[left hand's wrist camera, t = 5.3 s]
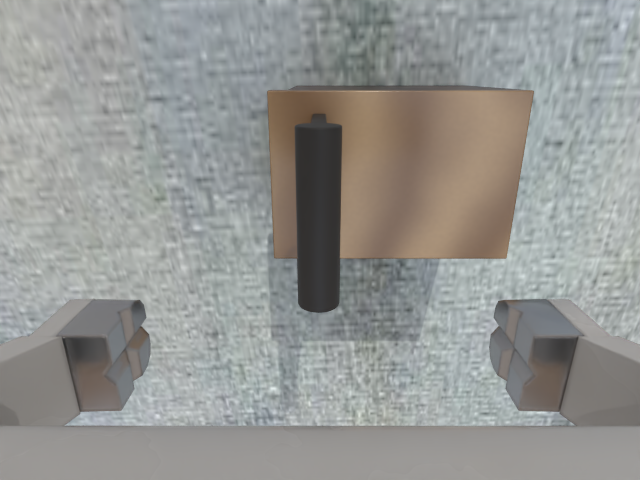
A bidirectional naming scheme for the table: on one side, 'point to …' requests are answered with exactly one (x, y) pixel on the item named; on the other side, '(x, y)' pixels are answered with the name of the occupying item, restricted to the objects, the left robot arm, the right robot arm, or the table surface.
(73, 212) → the table surface
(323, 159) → the lid
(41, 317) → the table surface
